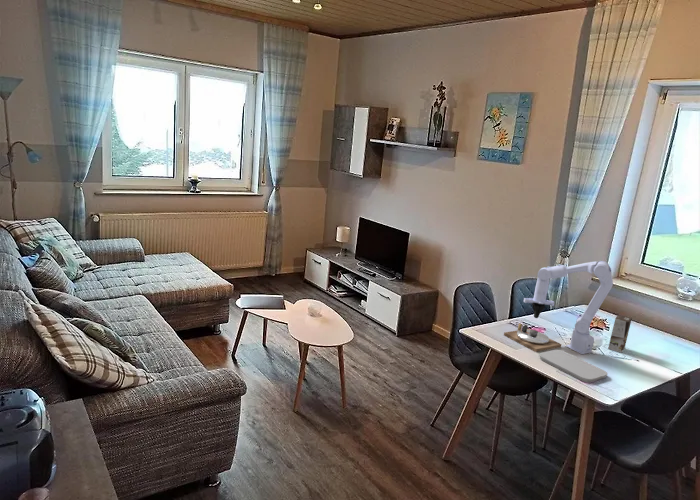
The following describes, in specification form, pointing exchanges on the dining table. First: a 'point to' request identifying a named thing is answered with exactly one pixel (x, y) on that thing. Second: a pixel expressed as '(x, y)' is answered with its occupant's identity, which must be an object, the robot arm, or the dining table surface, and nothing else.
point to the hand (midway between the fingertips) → (535, 317)
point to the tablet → (573, 365)
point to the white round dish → (537, 339)
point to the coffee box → (619, 333)
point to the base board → (532, 346)
